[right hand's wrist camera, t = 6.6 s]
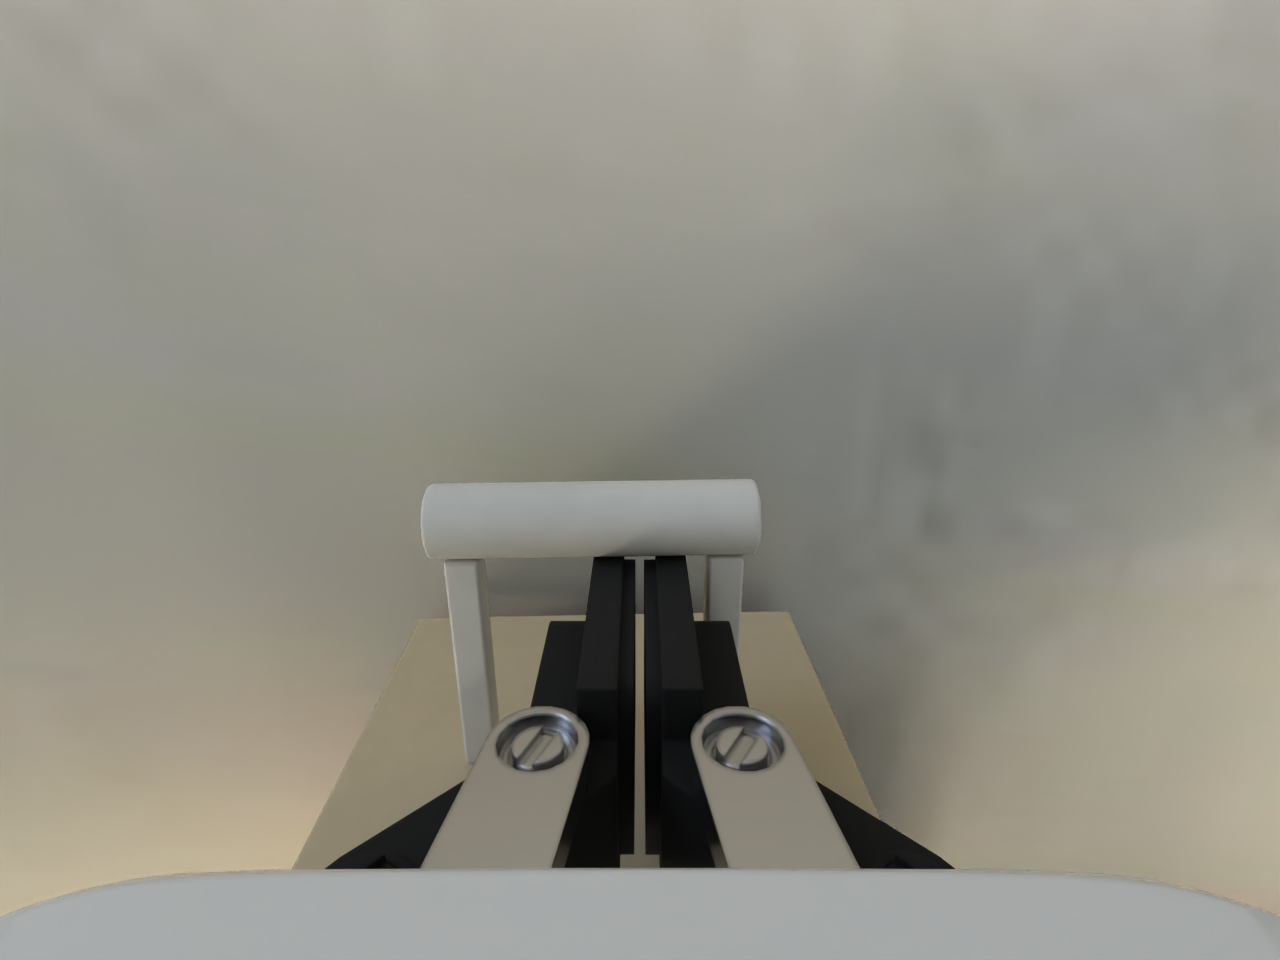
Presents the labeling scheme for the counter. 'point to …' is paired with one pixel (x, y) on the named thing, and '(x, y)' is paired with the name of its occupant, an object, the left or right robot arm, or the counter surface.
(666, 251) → the counter surface
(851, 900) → the right robot arm
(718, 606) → the drawer
